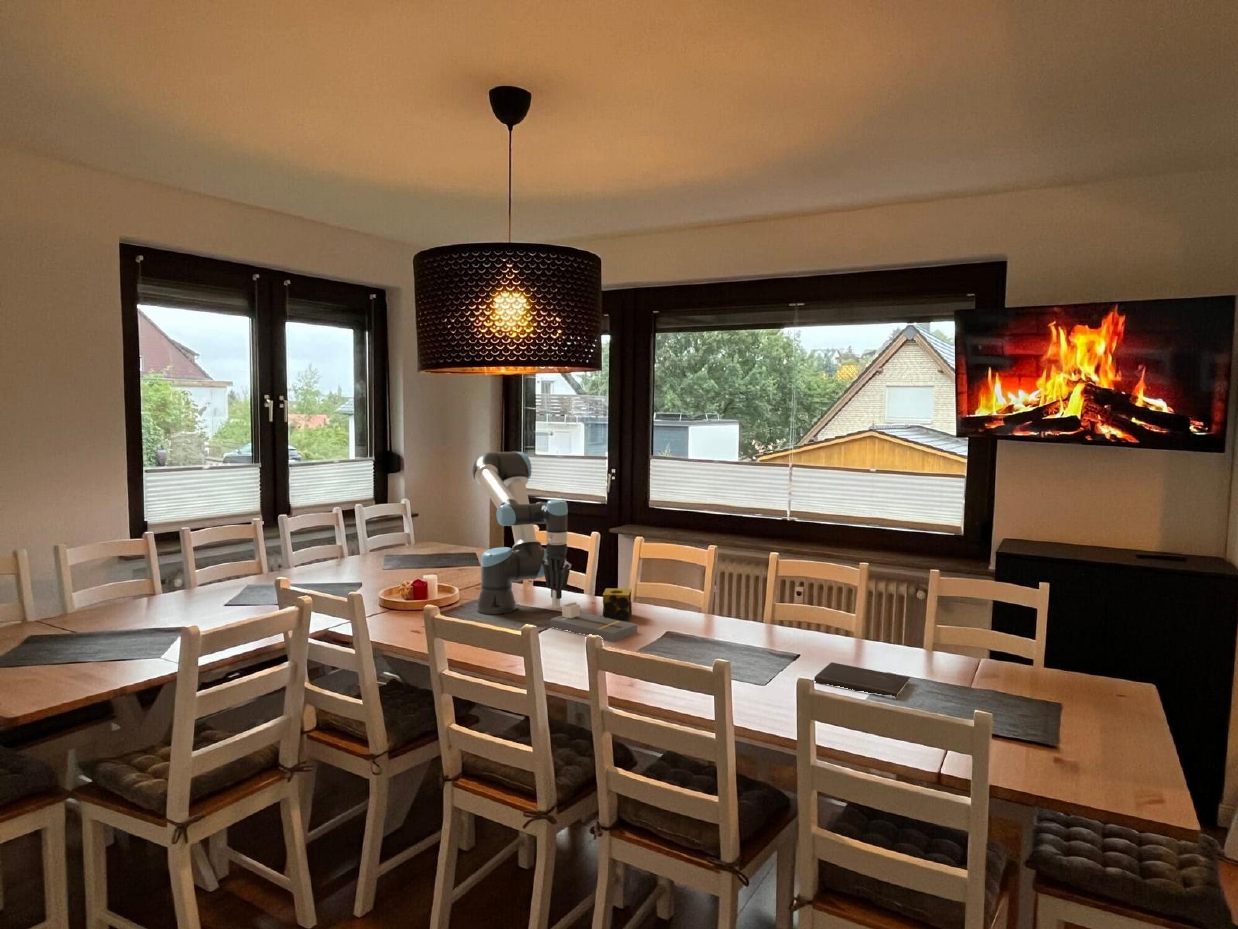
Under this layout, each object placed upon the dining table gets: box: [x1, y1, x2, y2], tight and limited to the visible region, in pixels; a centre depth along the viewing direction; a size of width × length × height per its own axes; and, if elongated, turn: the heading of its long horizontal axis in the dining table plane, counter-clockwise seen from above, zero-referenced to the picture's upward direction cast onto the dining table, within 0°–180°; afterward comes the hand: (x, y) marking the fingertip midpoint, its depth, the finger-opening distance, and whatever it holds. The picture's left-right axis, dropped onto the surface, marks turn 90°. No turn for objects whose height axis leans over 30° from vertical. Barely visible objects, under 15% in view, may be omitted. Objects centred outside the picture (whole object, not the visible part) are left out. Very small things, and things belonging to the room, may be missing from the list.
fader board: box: [549, 611, 638, 643], centre depth 271 cm, size 28×14×3 cm, turn 55°
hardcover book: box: [813, 661, 911, 698], centre depth 223 cm, size 16×23×2 cm
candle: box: [602, 587, 633, 622], centre depth 288 cm, size 10×10×10 cm
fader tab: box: [561, 601, 581, 618], centre depth 277 cm, size 4×5×5 cm
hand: (556, 607), depth 281 cm, fingers closed
